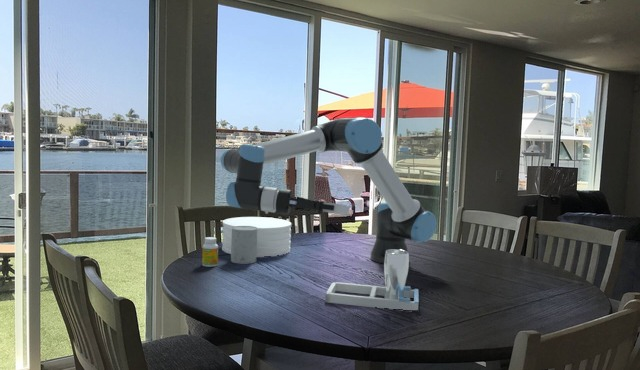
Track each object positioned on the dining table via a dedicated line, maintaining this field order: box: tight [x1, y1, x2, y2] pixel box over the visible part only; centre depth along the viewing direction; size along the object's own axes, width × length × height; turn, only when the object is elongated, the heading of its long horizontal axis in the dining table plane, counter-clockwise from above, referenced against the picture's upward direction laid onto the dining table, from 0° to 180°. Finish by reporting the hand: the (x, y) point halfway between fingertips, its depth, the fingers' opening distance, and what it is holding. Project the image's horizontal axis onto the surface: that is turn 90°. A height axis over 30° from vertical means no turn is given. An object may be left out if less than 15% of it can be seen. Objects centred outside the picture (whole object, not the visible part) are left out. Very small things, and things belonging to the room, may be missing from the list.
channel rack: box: [324, 281, 419, 311], centre depth 149 cm, size 26×13×2 cm, turn 79°
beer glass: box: [383, 249, 410, 300], centre depth 148 cm, size 7×7×15 cm
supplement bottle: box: [201, 236, 219, 268], centre depth 180 cm, size 5×5×10 cm
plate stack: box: [221, 216, 292, 258], centre depth 210 cm, size 28×28×12 cm
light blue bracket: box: [399, 285, 420, 305], centre depth 147 cm, size 5×13×3 cm, turn 169°
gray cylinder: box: [230, 226, 258, 265], centre depth 189 cm, size 10×10×12 cm
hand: (347, 210), depth 151 cm, fingers open, 13 cm apart
